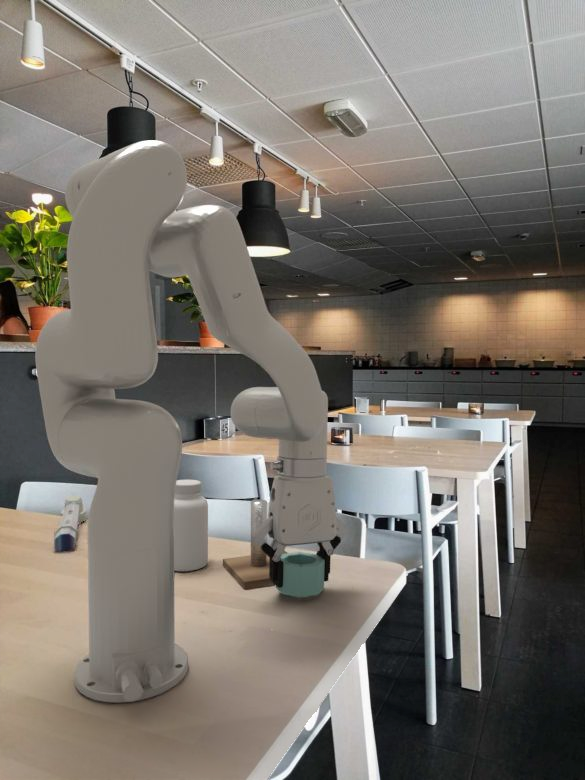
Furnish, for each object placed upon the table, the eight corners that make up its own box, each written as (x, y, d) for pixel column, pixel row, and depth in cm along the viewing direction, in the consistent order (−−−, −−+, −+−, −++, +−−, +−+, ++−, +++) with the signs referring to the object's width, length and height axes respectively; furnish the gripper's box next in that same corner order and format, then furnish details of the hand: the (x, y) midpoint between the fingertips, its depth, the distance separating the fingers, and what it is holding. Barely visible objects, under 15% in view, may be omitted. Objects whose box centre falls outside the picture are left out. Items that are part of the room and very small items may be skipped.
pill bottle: (216, 561, 106) (216, 479, 105) (191, 575, 98) (190, 488, 98) (180, 555, 109) (180, 476, 108) (153, 568, 102) (153, 484, 101)
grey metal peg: (269, 565, 100) (269, 502, 100) (253, 567, 99) (253, 503, 98) (263, 560, 103) (263, 499, 102) (248, 562, 101) (248, 500, 101)
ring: (330, 593, 88) (330, 563, 88) (287, 598, 86) (288, 568, 86) (310, 578, 95) (311, 550, 95) (270, 583, 92) (271, 555, 92)
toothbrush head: (49, 534, 110) (62, 489, 133) (50, 567, 111) (63, 517, 134) (78, 532, 111) (86, 488, 135) (79, 564, 112) (86, 515, 136)
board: (312, 578, 97) (312, 571, 97) (244, 589, 92) (244, 582, 92) (284, 557, 108) (284, 550, 108) (222, 565, 103) (222, 559, 103)
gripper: (258, 474, 83) (255, 597, 83) (363, 469, 90) (360, 582, 90) (241, 466, 90) (239, 580, 90) (340, 462, 97) (338, 568, 97)
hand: (299, 580), depth 90 cm, fingers closed on ring, 7 cm apart
